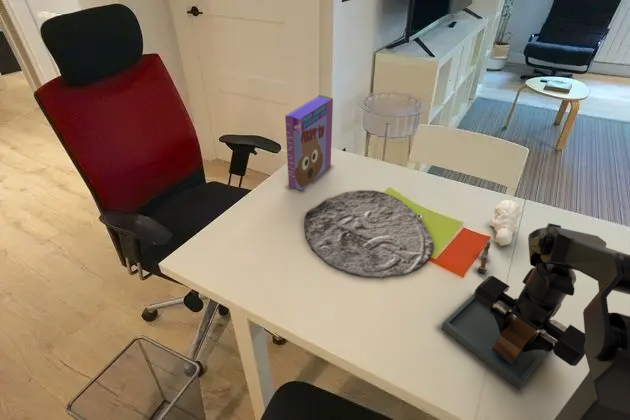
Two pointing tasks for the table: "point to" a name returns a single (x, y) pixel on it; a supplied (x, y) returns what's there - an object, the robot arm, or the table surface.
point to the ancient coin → (368, 234)
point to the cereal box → (309, 141)
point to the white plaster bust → (505, 221)
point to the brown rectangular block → (513, 340)
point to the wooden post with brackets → (484, 257)
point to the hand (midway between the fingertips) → (513, 342)
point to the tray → (488, 341)
